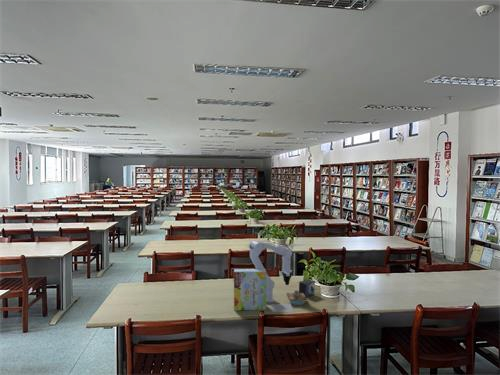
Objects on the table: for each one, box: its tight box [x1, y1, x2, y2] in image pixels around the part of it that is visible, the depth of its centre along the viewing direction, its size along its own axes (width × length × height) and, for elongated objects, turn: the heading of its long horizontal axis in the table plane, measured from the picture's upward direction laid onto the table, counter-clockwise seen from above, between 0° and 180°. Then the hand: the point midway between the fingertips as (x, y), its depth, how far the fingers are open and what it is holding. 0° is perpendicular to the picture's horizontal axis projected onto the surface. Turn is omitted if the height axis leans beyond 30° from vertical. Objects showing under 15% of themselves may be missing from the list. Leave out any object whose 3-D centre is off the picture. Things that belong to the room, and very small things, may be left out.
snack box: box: [233, 268, 267, 311], centre depth 231 cm, size 22×9×26 cm, turn 92°
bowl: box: [288, 299, 306, 306], centre depth 242 cm, size 10×10×4 cm
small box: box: [298, 279, 316, 298], centre depth 257 cm, size 11×6×10 cm, turn 126°
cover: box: [286, 290, 308, 301], centre depth 242 cm, size 12×12×4 cm
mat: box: [269, 303, 294, 313], centre depth 231 cm, size 14×14×1 cm
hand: (286, 283), depth 252 cm, fingers open, 7 cm apart
